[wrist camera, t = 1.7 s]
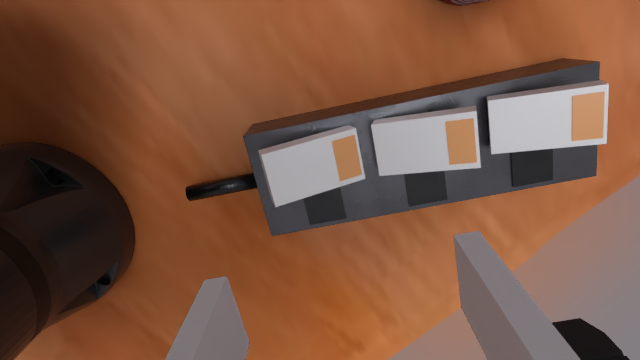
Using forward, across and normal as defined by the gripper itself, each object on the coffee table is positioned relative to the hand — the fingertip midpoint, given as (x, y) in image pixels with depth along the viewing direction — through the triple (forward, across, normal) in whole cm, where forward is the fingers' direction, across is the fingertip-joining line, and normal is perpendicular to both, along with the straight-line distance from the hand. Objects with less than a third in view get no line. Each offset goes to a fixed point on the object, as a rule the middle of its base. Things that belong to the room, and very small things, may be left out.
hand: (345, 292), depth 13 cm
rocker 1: (+14, -2, 0) cm, 14 cm away
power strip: (+20, +3, -2) cm, 20 cm away
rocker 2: (+14, +6, 0) cm, 15 cm away
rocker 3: (+14, +14, 0) cm, 20 cm away
